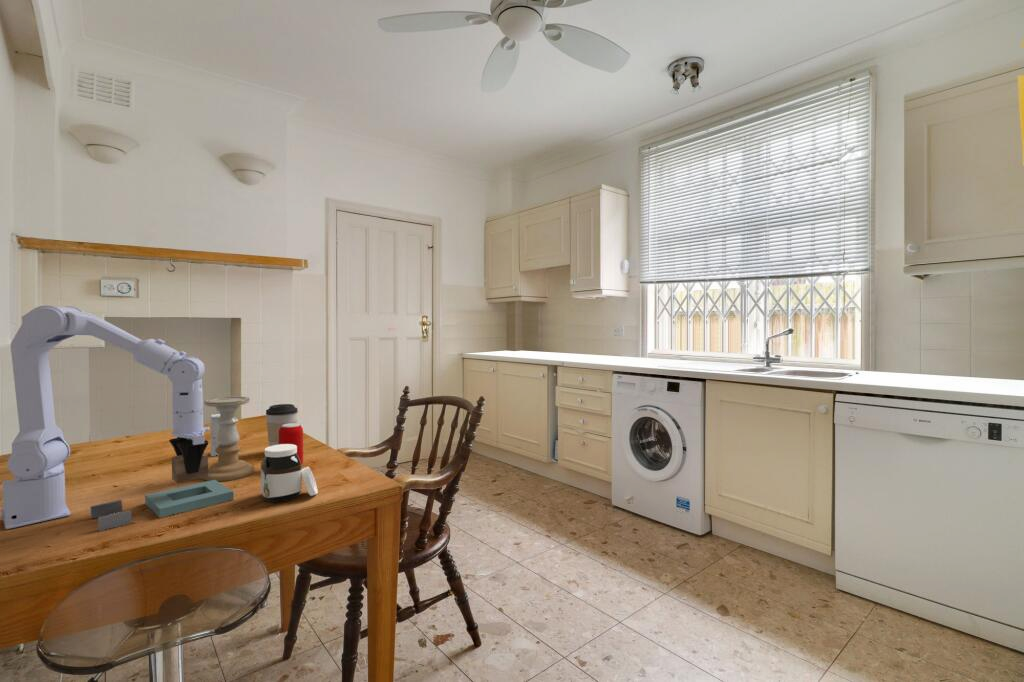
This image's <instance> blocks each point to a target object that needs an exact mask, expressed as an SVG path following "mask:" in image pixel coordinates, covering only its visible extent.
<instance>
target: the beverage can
mask: <svg viewBox="0 0 1024 682" xmlns="http://www.w3.org/2000/svg"><path fill="white" fill-rule="evenodd" d="M279 444H293V445H296V446H297V453H296V454H297V455H298V457H299V459H300V462H301V466H302V465H303V463H304V428H303V427H302V425H301V424H300V423H298V422H297V423H288V424H284V425H282V426H281V428H280V429H279Z"/></svg>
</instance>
